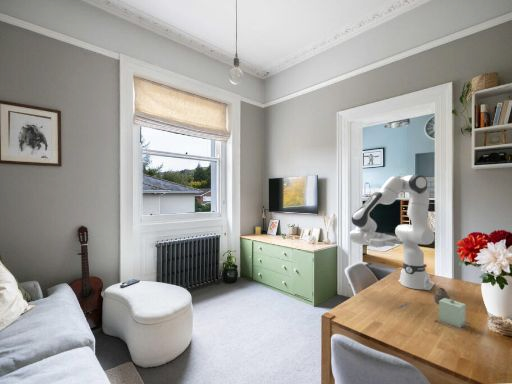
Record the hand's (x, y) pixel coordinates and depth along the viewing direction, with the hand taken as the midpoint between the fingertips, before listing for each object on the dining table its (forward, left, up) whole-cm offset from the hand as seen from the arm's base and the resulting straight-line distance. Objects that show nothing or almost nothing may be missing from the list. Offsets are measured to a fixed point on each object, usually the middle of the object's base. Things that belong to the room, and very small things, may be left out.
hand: (398, 243), depth 139 cm
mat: (+4, +9, -32) cm, 33 cm away
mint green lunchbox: (+4, +26, -31) cm, 41 cm away
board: (+4, +26, -32) cm, 41 cm away
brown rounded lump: (-15, +15, -32) cm, 39 cm away
